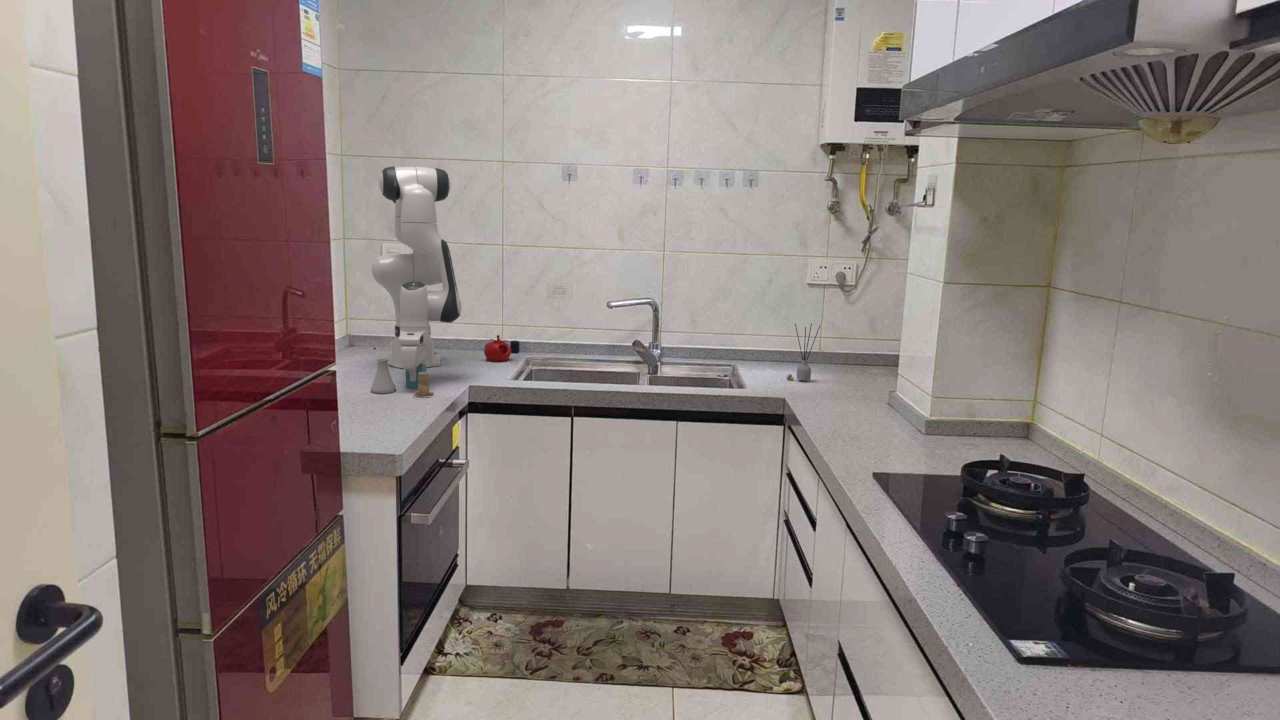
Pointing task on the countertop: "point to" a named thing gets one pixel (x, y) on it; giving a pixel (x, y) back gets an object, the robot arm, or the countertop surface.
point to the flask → (383, 378)
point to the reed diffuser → (803, 362)
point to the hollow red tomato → (497, 350)
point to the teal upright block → (419, 369)
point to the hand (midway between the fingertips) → (416, 378)
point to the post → (423, 385)
